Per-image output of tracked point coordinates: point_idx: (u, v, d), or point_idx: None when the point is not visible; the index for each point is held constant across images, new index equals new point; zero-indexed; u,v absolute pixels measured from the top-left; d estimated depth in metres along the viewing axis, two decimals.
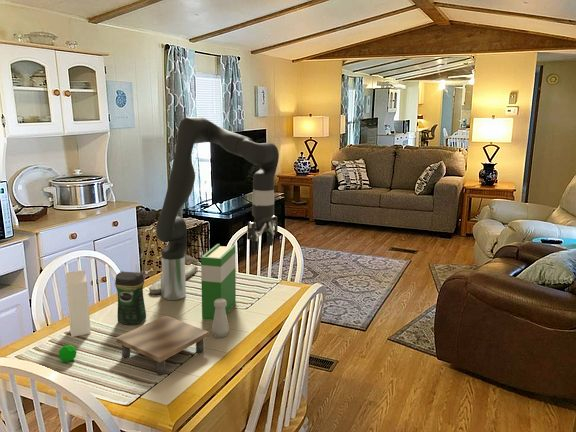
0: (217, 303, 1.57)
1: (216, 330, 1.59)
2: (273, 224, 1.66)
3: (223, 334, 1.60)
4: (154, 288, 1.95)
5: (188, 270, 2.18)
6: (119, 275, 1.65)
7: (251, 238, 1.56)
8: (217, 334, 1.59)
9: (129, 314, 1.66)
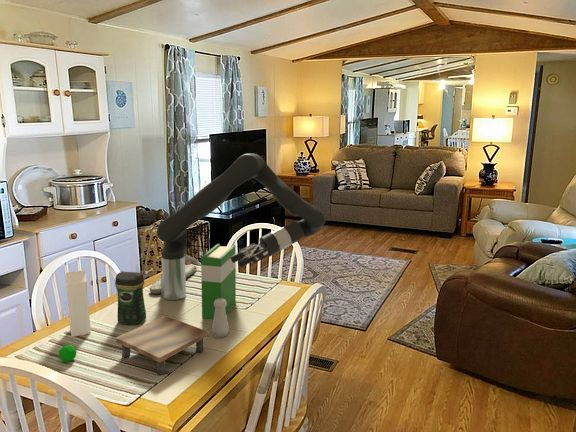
0: (217, 303, 1.57)
1: (216, 330, 1.59)
2: (249, 251, 1.69)
3: (223, 334, 1.60)
4: (154, 288, 1.95)
5: (187, 270, 2.18)
6: (119, 275, 1.65)
7: (255, 260, 1.56)
8: (217, 334, 1.59)
9: (129, 314, 1.66)
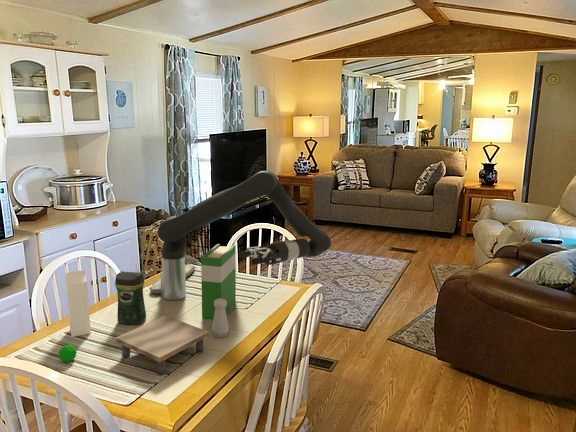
0: (217, 303, 1.57)
1: (216, 330, 1.59)
2: None
3: (223, 334, 1.60)
4: (155, 288, 1.95)
5: (186, 269, 2.18)
6: (119, 275, 1.65)
7: (269, 263, 1.59)
8: (217, 334, 1.59)
9: (129, 314, 1.66)
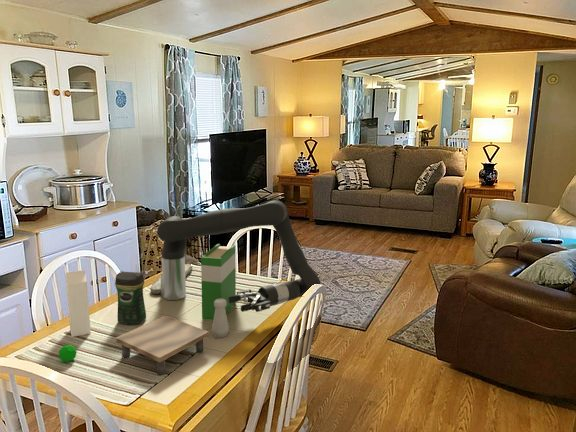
0: (217, 303, 1.57)
1: (216, 330, 1.59)
2: None
3: (223, 334, 1.60)
4: (156, 288, 1.95)
5: None
6: (119, 275, 1.65)
7: (258, 310, 1.61)
8: (217, 334, 1.59)
9: (129, 314, 1.66)
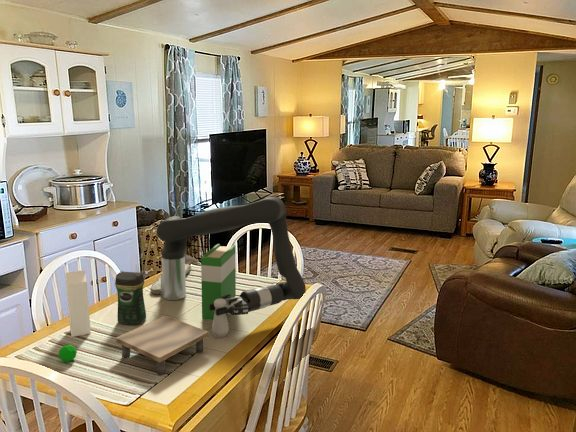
0: (217, 303, 1.57)
1: (216, 330, 1.59)
2: None
3: (223, 334, 1.60)
4: (156, 288, 1.95)
5: None
6: (119, 275, 1.65)
7: (233, 313, 1.57)
8: (217, 334, 1.59)
9: (129, 314, 1.66)
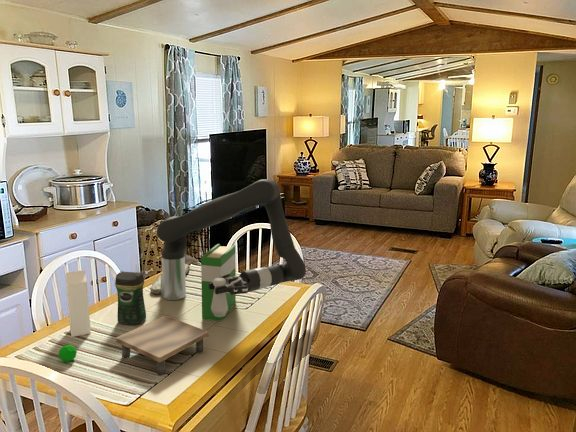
0: (216, 282, 1.56)
1: (216, 309, 1.57)
2: None
3: (222, 313, 1.58)
4: (156, 288, 1.95)
5: None
6: (119, 275, 1.65)
7: (232, 292, 1.56)
8: (216, 313, 1.58)
9: (129, 314, 1.66)
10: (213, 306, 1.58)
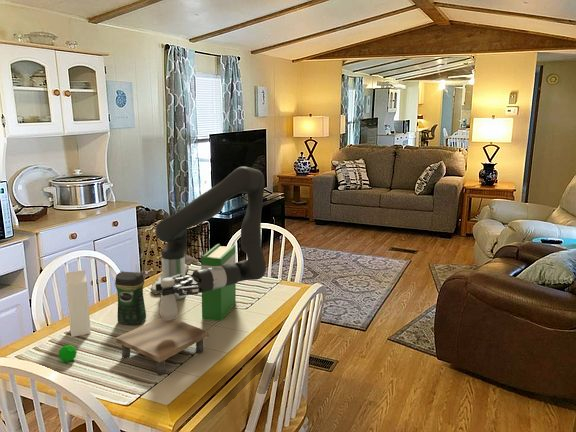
0: (163, 283, 1.43)
1: (163, 312, 1.44)
2: None
3: (171, 316, 1.45)
4: None
5: None
6: (119, 275, 1.65)
7: (181, 293, 1.43)
8: (164, 316, 1.45)
9: (129, 314, 1.66)
10: (161, 309, 1.45)
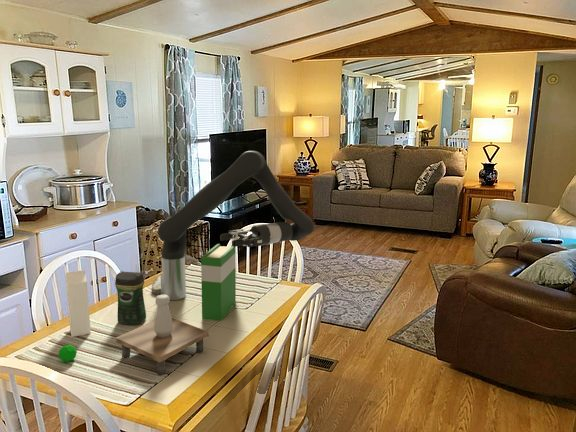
0: (158, 300, 1.43)
1: (158, 329, 1.44)
2: None
3: (166, 334, 1.45)
4: (158, 288, 1.95)
5: None
6: (119, 275, 1.65)
7: (249, 245, 1.59)
8: (159, 334, 1.45)
9: (129, 314, 1.66)
10: (156, 326, 1.45)
